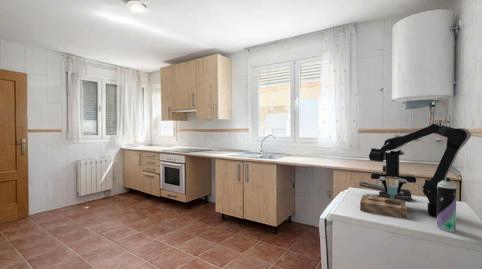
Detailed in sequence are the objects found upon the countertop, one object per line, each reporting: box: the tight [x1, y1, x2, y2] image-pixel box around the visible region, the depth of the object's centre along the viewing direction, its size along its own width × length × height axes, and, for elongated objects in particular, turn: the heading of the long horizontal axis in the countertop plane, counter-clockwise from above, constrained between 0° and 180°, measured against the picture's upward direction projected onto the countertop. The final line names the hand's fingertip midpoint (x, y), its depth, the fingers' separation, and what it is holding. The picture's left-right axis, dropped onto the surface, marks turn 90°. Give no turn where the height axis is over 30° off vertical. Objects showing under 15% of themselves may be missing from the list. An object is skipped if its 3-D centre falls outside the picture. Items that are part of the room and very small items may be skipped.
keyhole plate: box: [359, 194, 408, 219], centre depth 110 cm, size 18×13×4 cm
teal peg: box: [387, 184, 398, 199], centre depth 117 cm, size 4×4×9 cm
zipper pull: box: [358, 181, 413, 202], centre depth 129 cm, size 9×7×25 cm
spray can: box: [436, 177, 457, 233], centre depth 89 cm, size 6×6×20 cm
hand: (392, 193), depth 117 cm, fingers closed on teal peg, 4 cm apart
